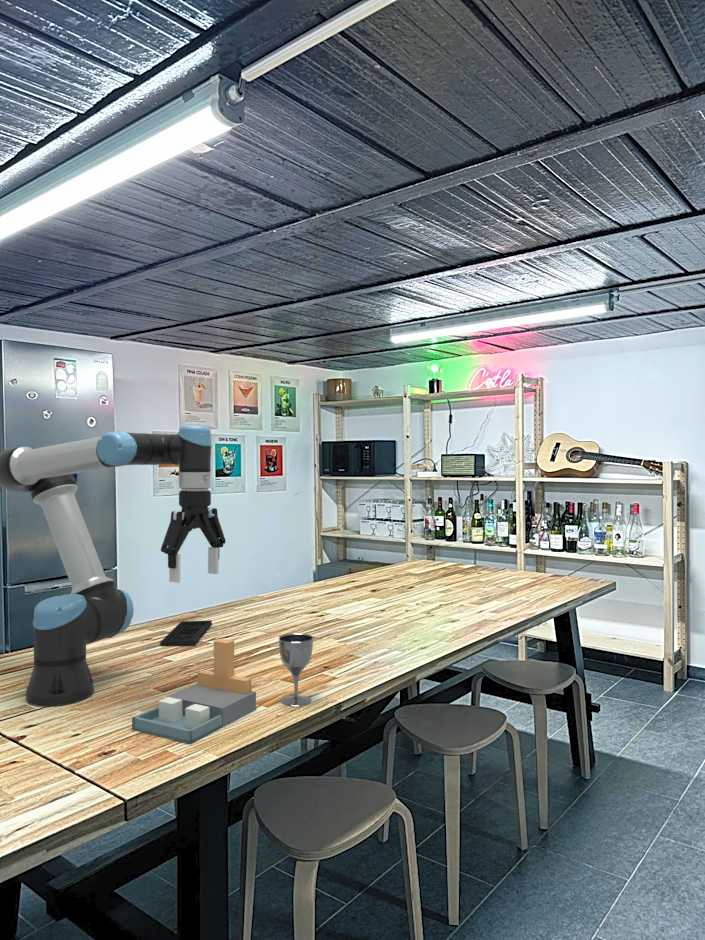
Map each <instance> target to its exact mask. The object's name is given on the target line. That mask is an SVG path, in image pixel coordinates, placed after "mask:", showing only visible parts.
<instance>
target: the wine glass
mask: <svg viewBox="0 0 705 940" xmlns="http://www.w3.org/2000/svg"><path fill="white" fill-rule="evenodd" d="M278 639H279V640H278V649H279V656H280V659H281V662H282V664H283V665H284V666H285V668H286V669H287V670H288V671H289V672H290V674H291V675H292V680H293V687H294V694H293V695H289V696H286V697H283V698H282V699H281V700H280V703H281V704H282V705H284V706H287V707H302V706H303V707H304V706H306V705H309V704H310V703H311V702H312V699H311V697H308V696H306V695H305V696H304V695H299V693H298V692H299V691H298V690H299V689H298V688H299V680H300V676H301V674H302V672H303V671H304V670H305V668H306V667H307V666H308V665H309V663H310V662H311V658H312V655H313V649H314V641H313V640H314V638H313V636H312V635H311V634H307V633H301V632H300V633H287V634H283V635H280V636H279V637H278Z"/></svg>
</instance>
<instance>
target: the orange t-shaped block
mask: <svg viewBox="0 0 705 940" xmlns="http://www.w3.org/2000/svg"><path fill="white" fill-rule="evenodd" d="M197 683H198V685H200V686H206V687H211V688H216V689H221V690H226V691H231V692H237V693H242V694H248V693H250V692H251V691H252V678H249V677H243V676H238V675H235V640H232V639H224V638H219V639H216V640H215V639H214V641H213V671H211V670H206V669H202V670H200V671H197Z"/></svg>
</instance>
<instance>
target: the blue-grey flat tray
mask: <svg viewBox="0 0 705 940" xmlns="http://www.w3.org/2000/svg"><path fill="white" fill-rule="evenodd" d="M221 728H223V727H222V715H218V716H216V717H214V718H212V719H210V720H208V721H206V722H204V723H202V724H200V725H198V726H196V727H194V728H192V729H191V728H187V727H185V716H184V715H182V718H181V719H179V720H177V721H175V722H173V723H172V722H168V721H164V720H159V705H158V706H155V707H154V708H151V709H149V710H146V711H145V712H144V711H143V712H141V713H140V714H137V715H134V716H132V717H131V729H132V730H133V731H137V732H141V733H145V734H149V735H153V736H156V737H161V738H165V739H169V740H174V741H176V742H180V743H185V744H188V745H191V744H193V743H195V742H197V741H199V740H201V739H203V738H205V737H207V736H209V735H210V734H212V733H214V732H216V731H218V730H220V729H221Z"/></svg>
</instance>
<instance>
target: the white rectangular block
mask: <svg viewBox="0 0 705 940" xmlns="http://www.w3.org/2000/svg"><path fill="white" fill-rule="evenodd" d="M208 720H210V716H209V707H207V706H202V705H198V704H194V705H191V706H189V707H187V708H185V727H187V728H191V729H192V728H194V727H196V726H198V725H200V724H202V723H204V722H206V721H208Z"/></svg>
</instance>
